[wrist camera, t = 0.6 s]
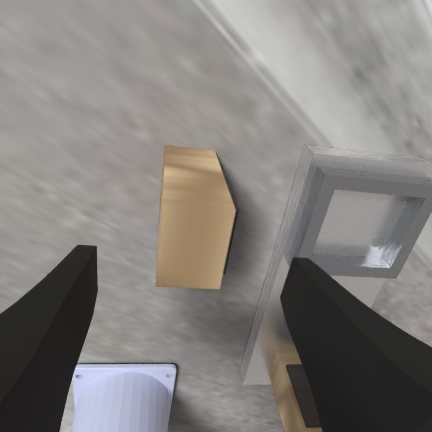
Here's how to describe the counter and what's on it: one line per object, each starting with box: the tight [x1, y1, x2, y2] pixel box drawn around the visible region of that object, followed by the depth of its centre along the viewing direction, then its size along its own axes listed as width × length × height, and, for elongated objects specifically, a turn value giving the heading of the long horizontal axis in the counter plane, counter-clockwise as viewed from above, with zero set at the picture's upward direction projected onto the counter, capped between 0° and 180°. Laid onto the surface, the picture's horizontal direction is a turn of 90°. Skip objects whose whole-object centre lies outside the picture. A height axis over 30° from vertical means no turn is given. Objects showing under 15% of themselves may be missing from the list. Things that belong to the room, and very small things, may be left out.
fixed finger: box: [269, 353, 322, 432], centre depth 25 cm, size 3×4×6 cm
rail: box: [240, 144, 432, 385], centre depth 24 cm, size 20×8×3 cm, turn 171°
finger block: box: [156, 145, 239, 289], centre depth 17 cm, size 3×4×7 cm
